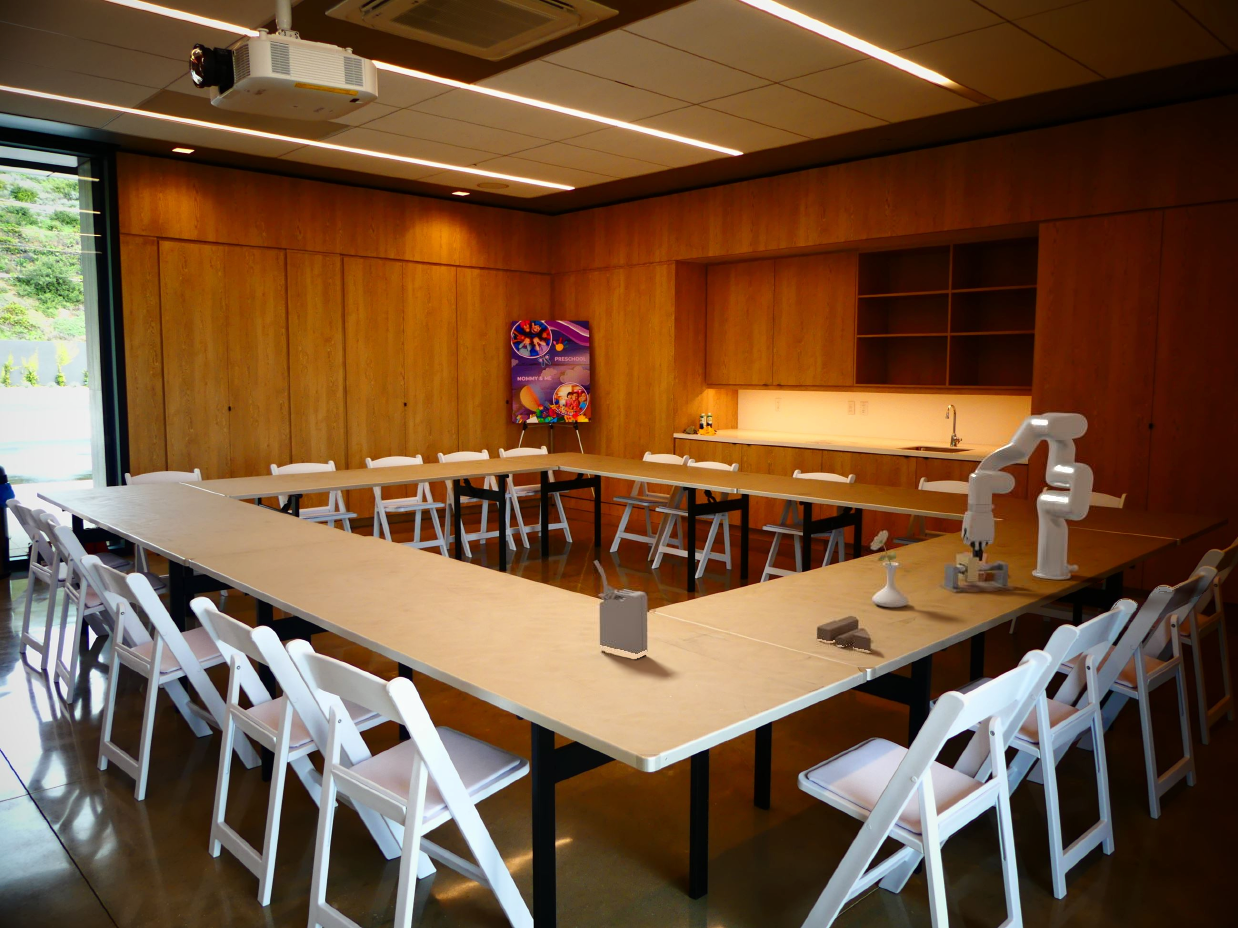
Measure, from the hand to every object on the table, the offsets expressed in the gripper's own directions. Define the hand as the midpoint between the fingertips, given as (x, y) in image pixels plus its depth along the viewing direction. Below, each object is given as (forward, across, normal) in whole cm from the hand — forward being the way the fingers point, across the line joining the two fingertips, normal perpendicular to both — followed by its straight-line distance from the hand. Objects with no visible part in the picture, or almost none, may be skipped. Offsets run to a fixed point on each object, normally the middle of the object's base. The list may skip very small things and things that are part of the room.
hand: (977, 560), depth 304 cm
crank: (+10, -9, -16) cm, 21 cm away
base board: (+10, 0, 0) cm, 10 cm away
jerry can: (+11, +135, +44) cm, 143 cm away
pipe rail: (+10, 0, 0) cm, 10 cm away
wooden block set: (+11, +67, +47) cm, 83 cm away
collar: (+6, +4, 0) cm, 7 cm away
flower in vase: (+10, +41, +15) cm, 45 cm away
